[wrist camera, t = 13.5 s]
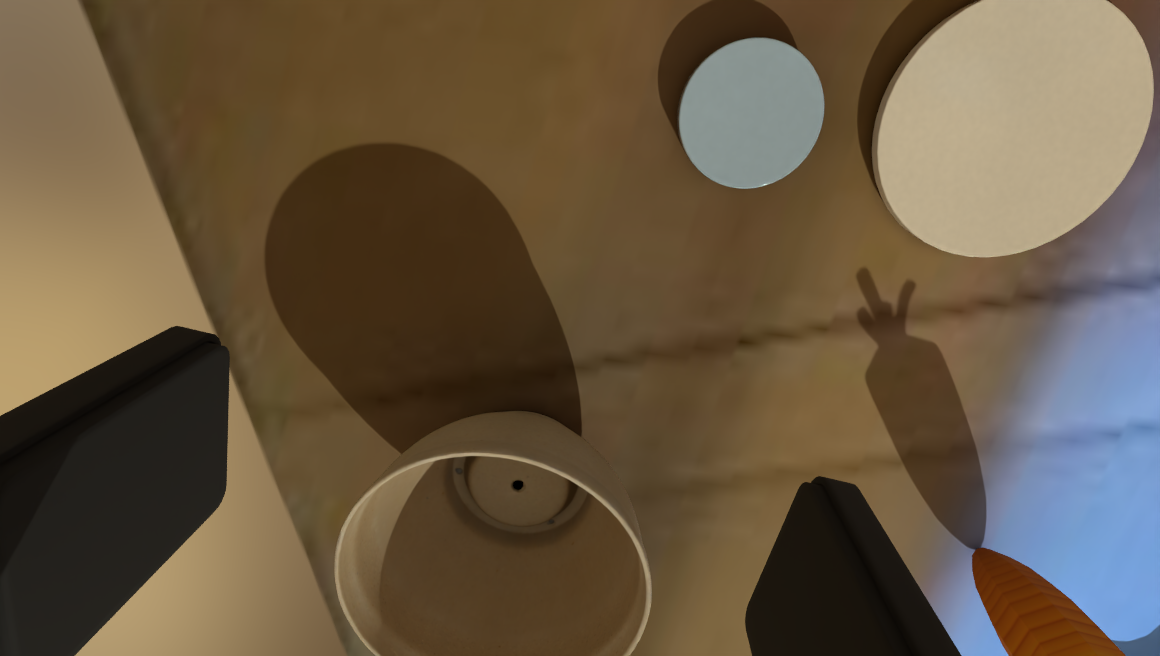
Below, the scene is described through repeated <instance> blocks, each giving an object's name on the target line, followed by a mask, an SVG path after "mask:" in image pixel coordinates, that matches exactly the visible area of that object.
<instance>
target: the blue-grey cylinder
mask: <svg viewBox="0 0 1160 656" xmlns="http://www.w3.org/2000/svg"><path fill="white" fill-rule="evenodd" d="M823 117H824V94H823V90H822V85H821V82H820V79H819V77H818V75H817V73H816V71H815V69H814V67H813V66H812V64H811V63H810V62H809V60H808V59H807V58H806V57H805V56H804V55H803V54H802V53H801V52H799V51H798V50H797V49H795V48H794V47H792V46H790V45H788V44H787V43H785V42H782V41H779V40H776V39H771V38H762V37H754V38H746V39H742V40H737V41H735V42H732V43H729V44H727V45H725V46H723V47H721V48H719V49H717V50H716V51H714V52H713V53H711V54H710V55H709V56H707V57H706V58H705V59H704V60H703V61H702V62H701V63H700V64H699V65H698V66H697V67H696V68H695V70H694V71H693V72H692V74H691V75H690V77H689V78H688V80H687V82H686V84H685V86H684V88H683V91H682V93H681V96H680V100H679V104H678V111H677V128H678V134H679V138H680V142H681V145H682V147H683V149H684V151H685V153H686V155H687V157H688V158H689V160H690V161H691V162H692V163H693V165H694V166H695V167H696V168H697V169H698V170H699V171H700V172H702V173H703V174H704V175H705V176H707V177H708V178H709V179H711V180H713V181H715V182H717V183H719V184H722V185H725V186H728V187H733V188H743V189H747V188H757V187H761V186H765V185H768V184H771V183H774V182H776V181H778V180H780V179H782V178H783V177H785V176H786V175H788V174H789V173H791V172H792V171H793V170H794V169H796V168H797V167H798V166H799V165H800V164H801V163H802V162H803V161H804V159H805V158H806V157H807V155H808V154H809V153H810V151H811V150H812V148H813V146H814V144H815V143H816V140H817V138H818V136H819V133H820V130H821V127H822V122H823Z"/></svg>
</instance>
